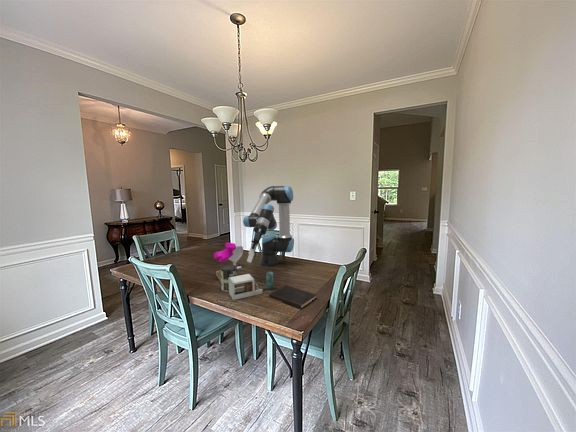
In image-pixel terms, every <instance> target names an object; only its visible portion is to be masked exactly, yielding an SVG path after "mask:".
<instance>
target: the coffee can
mask: <svg viewBox="0 0 576 432" xmlns="http://www.w3.org/2000/svg"><path fill="white" fill-rule="evenodd" d="M237 266H238V265H237V264H236V265H233V264H225V265H222V266H221V267H220V268H219V269H220V270H221V275H220V276H221V282H220V285H221V287H220V288H221V291H222V292H226V293H229V281H228V278H229V277H234V276H237V275H238V269H237ZM220 270H219V271H220ZM238 287H239V286H238V284H235V285H234V288H238Z"/></svg>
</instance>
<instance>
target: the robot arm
mask: <svg viewBox="0 0 576 432" xmlns="http://www.w3.org/2000/svg"><path fill="white" fill-rule="evenodd" d="M293 200H294V191H293V188H292V187H291V186H290V185H272V186H269V187H266V188H265V189H264V190H262V191H261V193H260V194H259V197H258V200H257V202H256V204H255V205H254V207H253V208H252V210H251V212H250V214H249V215H245V216H244V217H243V219H242V224H243V226H244V227H245V228H253V232H254V238H253V239H252V240H251V245H250V248H249V250H248V257H247V259H246V262H247V263H249V264H251V263H252V261H253V259H254V256H255V254H256V253H257V251H256V250H257V247H258V244H259V243H260V241H261V249H262V250H261V251H262V252H261V257H260V258H261V259H260V262H259V263H260V265H261V266H264V267H273V266H274V267H275V266H277V265H279V259H278V258H279V257H278V256H277V253H291V252H293V250H294V246H295V239H294V238H293V235H292V234H291V224H290V223H291V220H290V219H291V218H290V216H291V215H290V206H291V203H292V202H293ZM271 201H276V204H277V205H278V222H279V223H278V224H277V220H276V219H275V218H276V217H275V216H274V212H275V207H274V206H273V205H272V204H270V203H271ZM278 226H279V227H278ZM277 227H278V229H279V230H278V231H279V234H278V235H277V236H276V235H268V236H267V235H266V234H267V231H275V230H276V229H277ZM264 235H266V236H264ZM263 236H264V237H263Z"/></svg>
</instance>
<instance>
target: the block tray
mask: <svg viewBox="0 0 576 432" xmlns="http://www.w3.org/2000/svg"><path fill="white" fill-rule="evenodd" d="M215 275H216V277H217V279H218V280H219V282H220V283H221V270H216V271H215ZM237 276H239V275H238V274H237Z"/></svg>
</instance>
